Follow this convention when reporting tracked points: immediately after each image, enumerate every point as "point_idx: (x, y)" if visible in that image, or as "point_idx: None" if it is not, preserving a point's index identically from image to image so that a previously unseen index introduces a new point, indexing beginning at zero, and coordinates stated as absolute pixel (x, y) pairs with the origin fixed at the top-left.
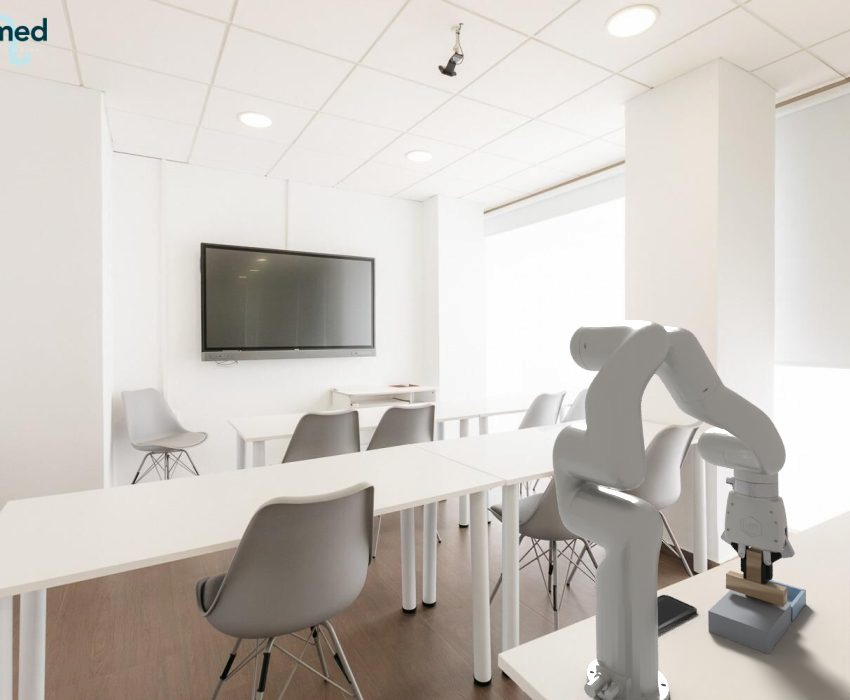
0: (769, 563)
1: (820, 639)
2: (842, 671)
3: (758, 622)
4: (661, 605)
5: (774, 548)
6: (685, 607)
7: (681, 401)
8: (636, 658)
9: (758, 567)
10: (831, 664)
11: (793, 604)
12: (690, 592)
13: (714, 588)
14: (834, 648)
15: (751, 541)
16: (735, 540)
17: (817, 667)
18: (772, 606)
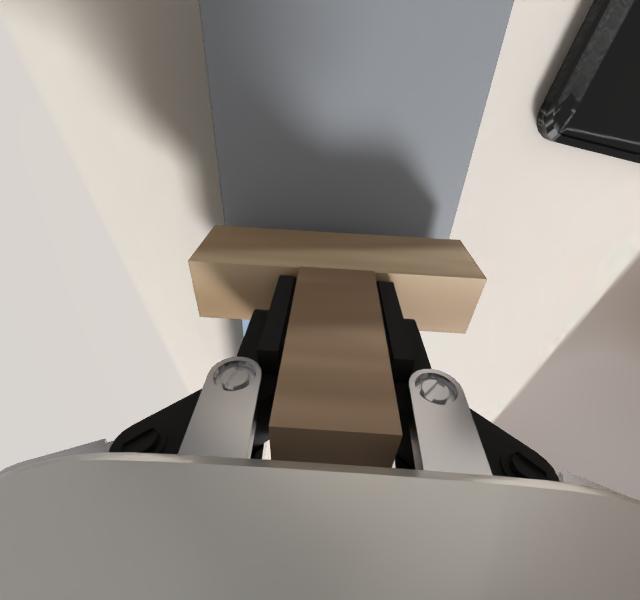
0: (224, 371)
1: (163, 234)
2: (20, 53)
3: (265, 10)
4: None
5: (2, 506)
6: (594, 113)
7: None
8: None
9: (303, 328)
10: (64, 80)
11: (245, 330)
12: (558, 274)
13: (479, 343)
14: (115, 206)
15: (342, 556)
16: (575, 513)
17: (73, 6)
18: None
